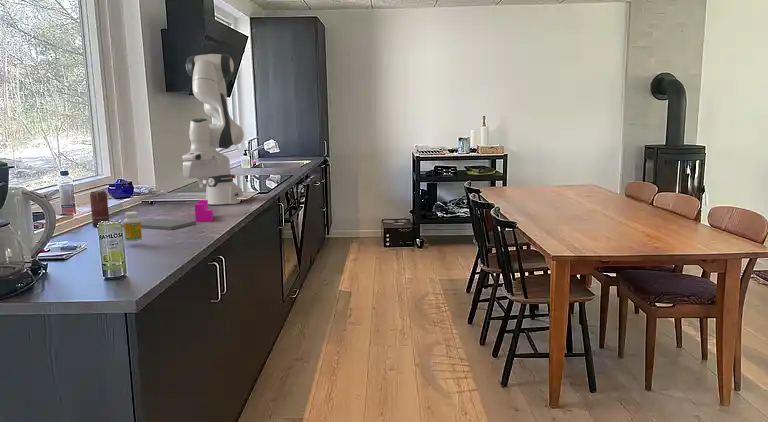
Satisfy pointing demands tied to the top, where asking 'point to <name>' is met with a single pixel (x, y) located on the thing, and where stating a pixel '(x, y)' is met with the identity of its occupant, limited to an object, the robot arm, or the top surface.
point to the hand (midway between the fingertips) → (203, 187)
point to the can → (99, 207)
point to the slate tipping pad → (165, 223)
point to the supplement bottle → (132, 227)
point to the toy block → (203, 212)
